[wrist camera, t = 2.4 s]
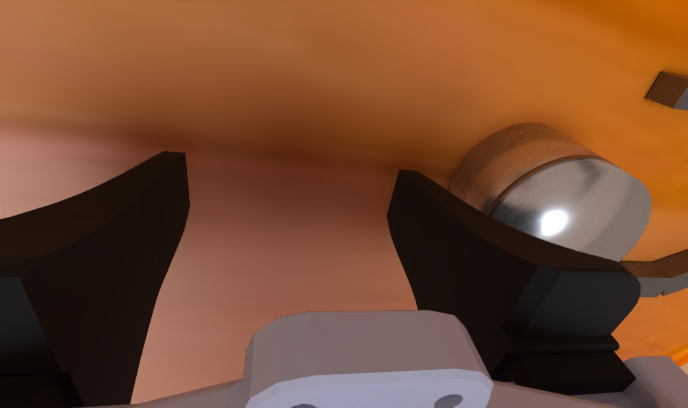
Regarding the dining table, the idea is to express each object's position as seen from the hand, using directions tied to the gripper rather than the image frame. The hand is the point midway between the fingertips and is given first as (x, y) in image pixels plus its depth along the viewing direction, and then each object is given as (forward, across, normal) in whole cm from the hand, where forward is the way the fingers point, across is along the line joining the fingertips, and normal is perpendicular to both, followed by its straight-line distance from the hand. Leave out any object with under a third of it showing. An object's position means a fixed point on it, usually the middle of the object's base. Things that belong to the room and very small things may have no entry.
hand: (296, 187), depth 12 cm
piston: (+2, -9, 0) cm, 9 cm away
